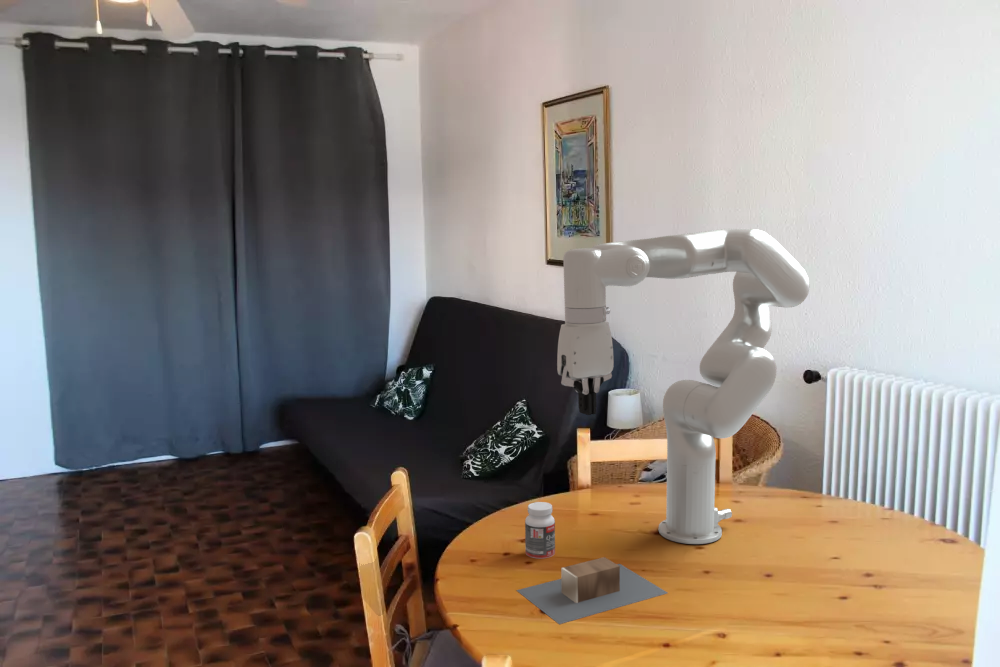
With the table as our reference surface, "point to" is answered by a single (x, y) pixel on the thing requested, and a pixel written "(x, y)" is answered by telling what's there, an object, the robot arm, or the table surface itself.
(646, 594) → the mat
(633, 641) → the table surface
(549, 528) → the pill bottle
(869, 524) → the table surface
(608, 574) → the block
